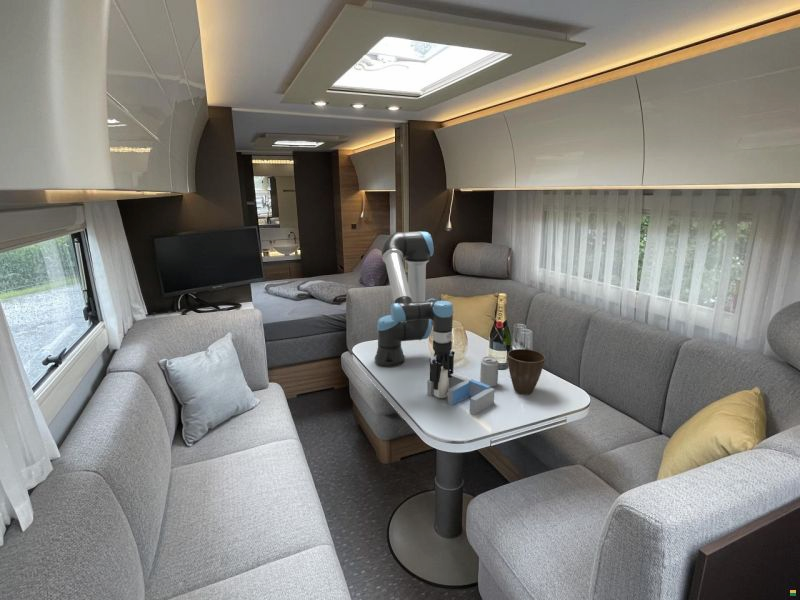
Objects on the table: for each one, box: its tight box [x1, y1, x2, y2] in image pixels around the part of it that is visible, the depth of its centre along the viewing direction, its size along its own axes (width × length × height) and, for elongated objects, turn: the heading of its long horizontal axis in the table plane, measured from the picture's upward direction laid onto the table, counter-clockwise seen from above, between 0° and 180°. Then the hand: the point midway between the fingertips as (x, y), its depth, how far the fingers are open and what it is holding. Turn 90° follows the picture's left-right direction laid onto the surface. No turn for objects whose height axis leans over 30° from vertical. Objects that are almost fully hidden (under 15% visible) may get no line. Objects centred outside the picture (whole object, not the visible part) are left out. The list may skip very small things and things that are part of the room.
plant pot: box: [507, 348, 546, 395], centre depth 166 cm, size 15×15×16 cm
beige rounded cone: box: [435, 367, 448, 399], centre depth 161 cm, size 5×5×11 cm
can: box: [479, 355, 499, 388], centre depth 173 cm, size 8×8×12 cm
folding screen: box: [426, 373, 496, 416], centre depth 161 cm, size 24×13×7 cm, turn 44°
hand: (441, 393), depth 163 cm, fingers closed on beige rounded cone, 5 cm apart
